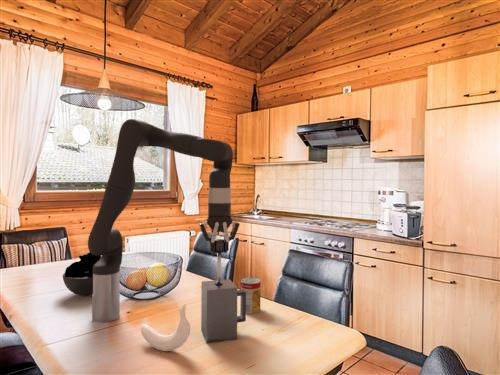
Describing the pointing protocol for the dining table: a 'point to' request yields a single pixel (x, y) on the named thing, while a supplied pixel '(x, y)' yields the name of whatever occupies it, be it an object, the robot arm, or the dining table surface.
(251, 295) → the canned food
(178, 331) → the banana
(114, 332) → the dining table surface
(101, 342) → the dining table surface
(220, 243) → the plunger
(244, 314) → the press jar
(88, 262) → the bowl of black rocks
